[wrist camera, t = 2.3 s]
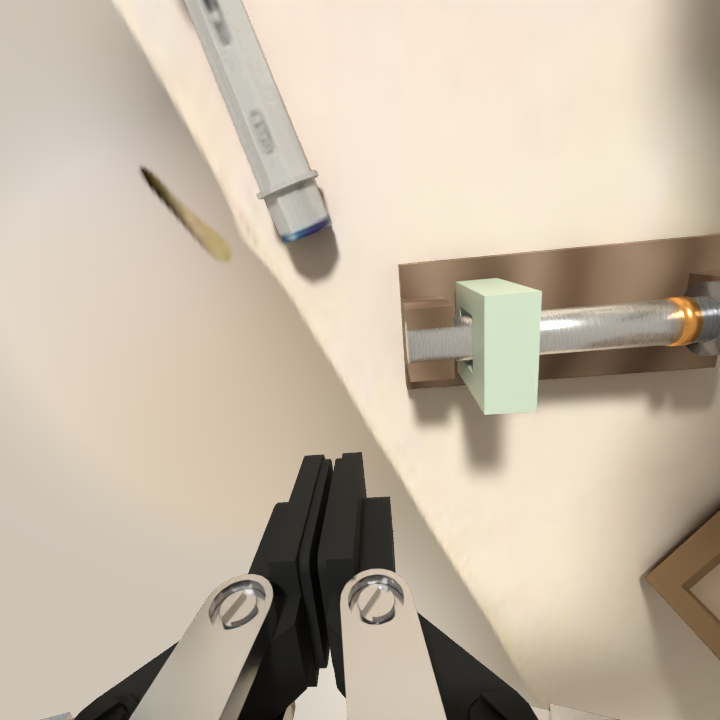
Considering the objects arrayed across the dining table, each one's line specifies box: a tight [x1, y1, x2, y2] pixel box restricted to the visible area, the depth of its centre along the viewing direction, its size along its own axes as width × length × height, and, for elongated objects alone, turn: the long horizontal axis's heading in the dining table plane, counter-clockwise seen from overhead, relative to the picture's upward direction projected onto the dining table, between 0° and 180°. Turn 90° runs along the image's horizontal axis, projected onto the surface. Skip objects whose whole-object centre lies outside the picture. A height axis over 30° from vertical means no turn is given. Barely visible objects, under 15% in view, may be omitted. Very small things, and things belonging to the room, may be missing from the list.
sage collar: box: [456, 278, 542, 415], centre depth 25 cm, size 3×7×8 cm, turn 6°
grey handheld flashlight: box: [184, 0, 332, 244], centre depth 24 cm, size 5×7×25 cm
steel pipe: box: [405, 281, 720, 364], centre depth 25 cm, size 24×5×5 cm, turn 95°
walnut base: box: [398, 234, 720, 389], centre depth 27 cm, size 24×10×6 cm, turn 95°
